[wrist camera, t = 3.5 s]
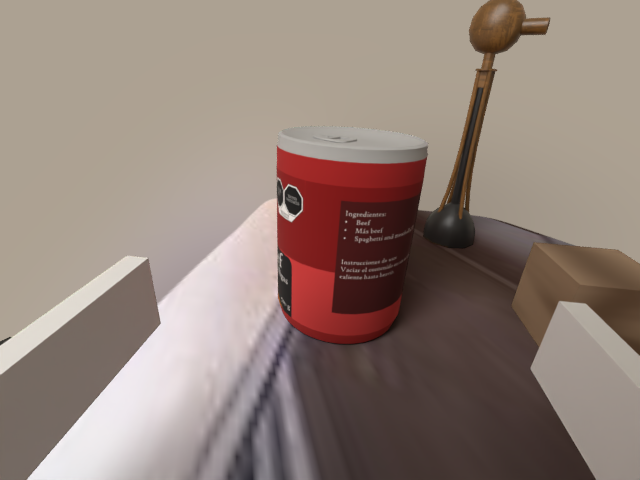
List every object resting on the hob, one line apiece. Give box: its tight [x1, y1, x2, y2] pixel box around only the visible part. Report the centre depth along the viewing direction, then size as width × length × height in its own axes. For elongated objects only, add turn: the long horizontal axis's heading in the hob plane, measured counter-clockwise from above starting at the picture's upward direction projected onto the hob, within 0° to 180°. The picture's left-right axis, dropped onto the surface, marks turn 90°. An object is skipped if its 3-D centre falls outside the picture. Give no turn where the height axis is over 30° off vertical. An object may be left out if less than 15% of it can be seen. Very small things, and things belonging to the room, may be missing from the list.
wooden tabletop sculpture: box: [423, 0, 550, 248], centre depth 29 cm, size 6×5×20 cm
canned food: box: [277, 126, 428, 344], centre depth 20 cm, size 8×8×11 cm
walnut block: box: [511, 242, 640, 356], centre depth 20 cm, size 5×5×5 cm
